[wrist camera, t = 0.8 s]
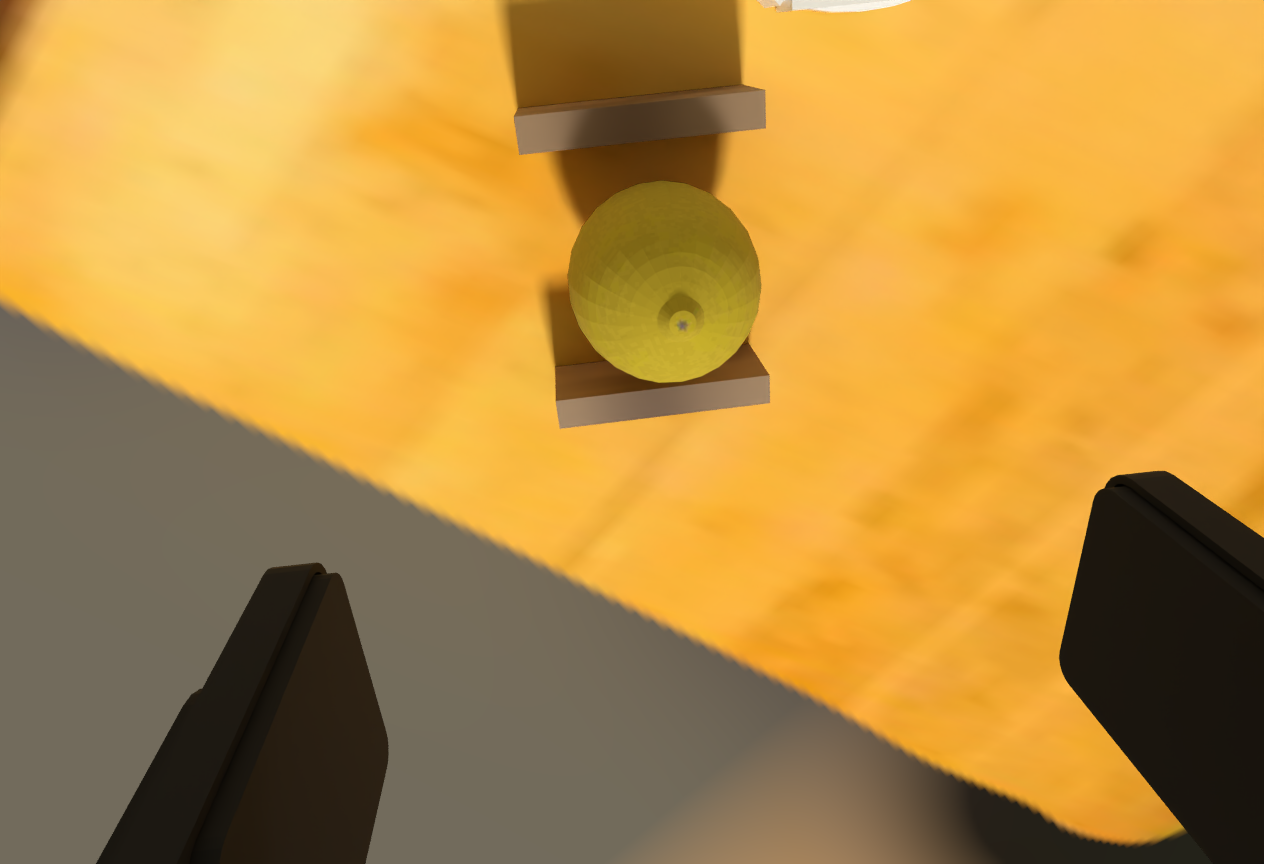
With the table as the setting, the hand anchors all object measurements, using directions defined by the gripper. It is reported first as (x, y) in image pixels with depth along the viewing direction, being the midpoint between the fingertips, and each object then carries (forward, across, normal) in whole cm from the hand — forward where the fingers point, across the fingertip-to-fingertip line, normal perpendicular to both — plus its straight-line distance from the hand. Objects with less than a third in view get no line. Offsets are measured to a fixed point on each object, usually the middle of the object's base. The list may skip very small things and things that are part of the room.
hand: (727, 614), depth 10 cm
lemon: (+19, -1, 0) cm, 19 cm away
